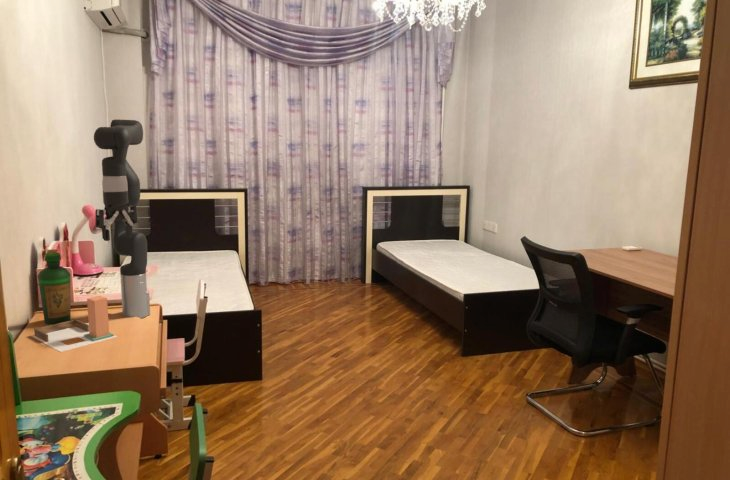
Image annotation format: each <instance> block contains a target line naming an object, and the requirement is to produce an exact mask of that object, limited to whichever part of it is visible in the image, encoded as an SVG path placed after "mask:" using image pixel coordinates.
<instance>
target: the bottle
mask: <svg viewBox="0 0 730 480" xmlns="http://www.w3.org/2000/svg"><path fill="white" fill-rule="evenodd" d="M46 251H47V253H45V254H44V261H45V262H46V267H45V268H43V269H42V270H40V271H39V273H38V275H37V281H38V287H39V293H40V294H39V295H40V300H41V305H42V306H41V307H42V314H43V315H42V316H43V321H44V324H45V325H48V326H49V325H54V324H58V323H62V322H67V321H71V318H72V316H71V315H72V313H71V312H72V311H71V305H72V304H71V273H70V272H69V270H68V269H67V268H65V267H63V266H61V264H60V263H61V260H62V256H61V253H60V252H58V249H53V248H52V249H48V250H46Z"/></svg>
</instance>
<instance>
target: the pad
mask: <svg viewBox="0 0 730 480" xmlns="http://www.w3.org/2000/svg"><path fill="white" fill-rule="evenodd" d="M114 335H115V334H114V333H111V332H110V331H109V334H108V335H105V336H101V337H98V338H96V337H93V336H91V335H89V334H85V335H84V337H86V338H88V339H90V340H92V341H97V340H101V339H105V338H108V337H112V336H114Z"/></svg>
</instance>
